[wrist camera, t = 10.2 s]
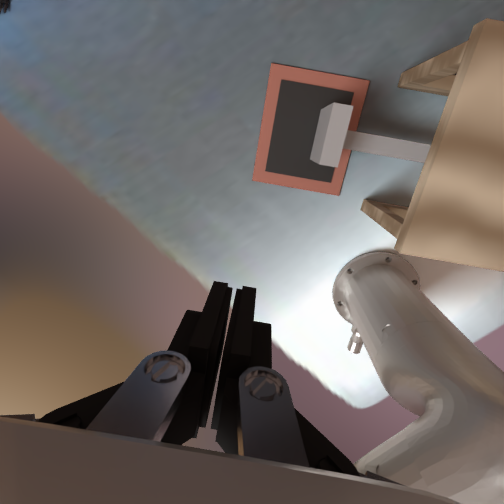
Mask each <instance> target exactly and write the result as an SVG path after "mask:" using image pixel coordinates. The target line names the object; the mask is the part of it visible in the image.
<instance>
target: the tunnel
mask: <svg viewBox="0 0 504 504" xmlns="http://www.w3.org/2000/svg"><path fill="white" fill-rule="evenodd" d="M455 73H457V74H456V75H452V74H455ZM398 87H399V88H405V89H410V90H416V91H422V92H427V93H433V94H438V95H444V96H448V99H447V102H446V105H445V107H444V110H443V113H442V116H441V119H440V121H439V124H438V127H437V130H436V133H435V135H434V138H433V141H432V144H431V147H430V149H429V152H428V155H427V158H426V161H425V163H424V166H423V169H422V172H421V175H420V177H419V180H418V183H417V186H416V189H415V191H414V194H413V197H412V200H411V203H410V205H409V207H405V206H400V205H394V204H388V203H383V202H377V201H371V200H366V199H364V200H363V203H362V207H361V210H362V211H363V212H364V213H365V214H367V215H368V216H369V217H370V218H372V219H373V220H374V221H375V222H377V223H378V224H379V225H380V226H382V227H383V228H384V229H386V230H387V231H388V232H389V233H391V234H392V235H393V236H394V237H396V238H397V242H396V245H395V247H394V249H395V250H397V251H398V252H399V253H400V254H405V255H411V256H416V257H422V258H428V259H434V260H439V261H445V262H451V263H456V264H462V265H468V266H474V267H479V268H485V269H491V270H496V271H502V272H504V21H498V20H493V19H487V18H486V19H485V20H483V21H481V22H479V23H477V24H476V25H474V26H473V29H472V32H471V35H470V37H469V40H468V41H466V42H464V43H462V44H460V45H458V46H456V47H454V48H452V49H450V50H448V51H446V52H444V53H442V54H440V55H438V56H436V57H434V58H432V59H429V60H427V61H425V62H423V63H421V64H419V65H417V66H415V67H413V68H411V69H409V70H407V71H405V72H403V73H401V77H400V80H399V83H398Z"/></svg>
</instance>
